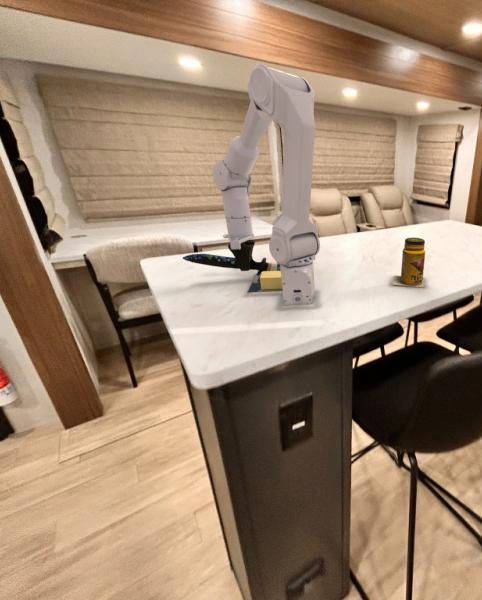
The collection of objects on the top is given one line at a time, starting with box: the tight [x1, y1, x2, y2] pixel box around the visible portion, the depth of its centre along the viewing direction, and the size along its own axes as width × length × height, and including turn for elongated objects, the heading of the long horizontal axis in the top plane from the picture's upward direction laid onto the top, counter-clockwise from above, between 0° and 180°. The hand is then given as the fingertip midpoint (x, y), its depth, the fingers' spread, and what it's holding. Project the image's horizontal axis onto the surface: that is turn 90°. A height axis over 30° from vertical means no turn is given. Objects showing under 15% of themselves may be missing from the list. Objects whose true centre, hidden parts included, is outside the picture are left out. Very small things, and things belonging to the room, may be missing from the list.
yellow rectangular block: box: [260, 271, 282, 290], centre depth 76 cm, size 5×6×3 cm
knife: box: [182, 253, 281, 276], centre depth 81 cm, size 31×3×4 cm, turn 96°
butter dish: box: [246, 273, 283, 294], centre depth 80 cm, size 14×12×1 cm
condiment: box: [392, 237, 426, 288], centre depth 83 cm, size 7×8×12 cm
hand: (245, 269), depth 81 cm, fingers closed on knife
